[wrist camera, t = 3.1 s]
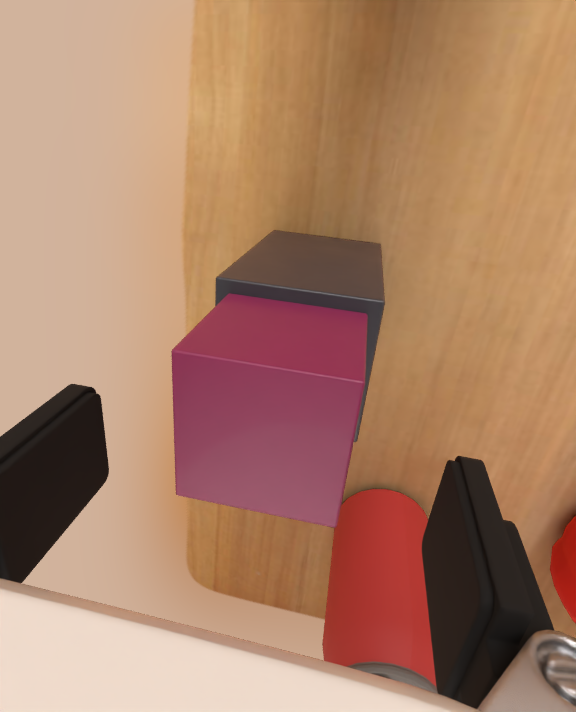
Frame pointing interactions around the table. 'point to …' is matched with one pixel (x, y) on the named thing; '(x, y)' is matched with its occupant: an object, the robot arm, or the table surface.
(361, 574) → the beer can
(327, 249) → the bottom block
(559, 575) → the tomato
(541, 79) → the table surface
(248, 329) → the top block
